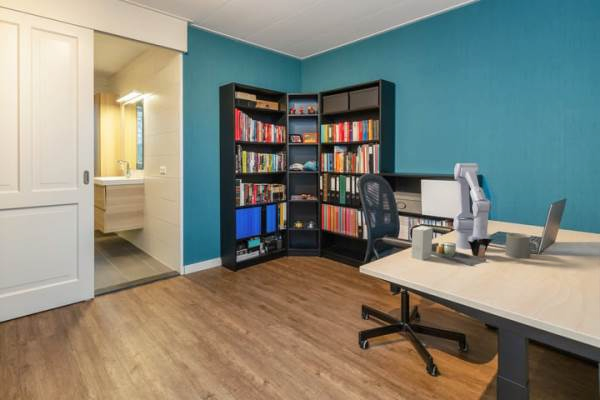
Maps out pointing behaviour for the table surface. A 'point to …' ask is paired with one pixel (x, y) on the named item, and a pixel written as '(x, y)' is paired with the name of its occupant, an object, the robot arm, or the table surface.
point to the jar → (481, 251)
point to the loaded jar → (449, 249)
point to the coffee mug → (520, 245)
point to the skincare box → (421, 243)
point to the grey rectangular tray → (458, 257)
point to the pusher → (440, 249)
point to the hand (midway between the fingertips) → (478, 254)
